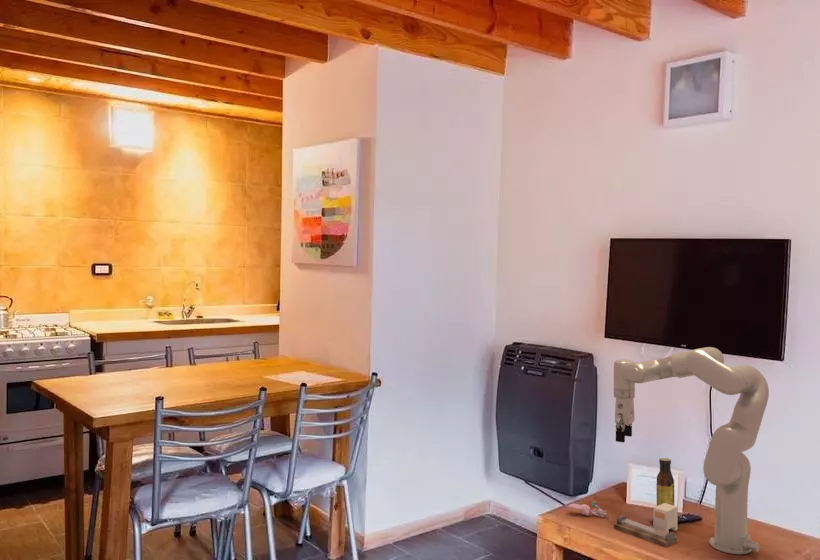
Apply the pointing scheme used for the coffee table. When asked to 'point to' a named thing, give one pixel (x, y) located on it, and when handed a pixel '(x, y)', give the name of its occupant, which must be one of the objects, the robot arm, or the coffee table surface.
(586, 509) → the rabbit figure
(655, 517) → the module
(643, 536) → the board
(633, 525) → the rail
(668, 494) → the sauce bottle
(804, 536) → the coffee table surface
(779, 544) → the coffee table surface
